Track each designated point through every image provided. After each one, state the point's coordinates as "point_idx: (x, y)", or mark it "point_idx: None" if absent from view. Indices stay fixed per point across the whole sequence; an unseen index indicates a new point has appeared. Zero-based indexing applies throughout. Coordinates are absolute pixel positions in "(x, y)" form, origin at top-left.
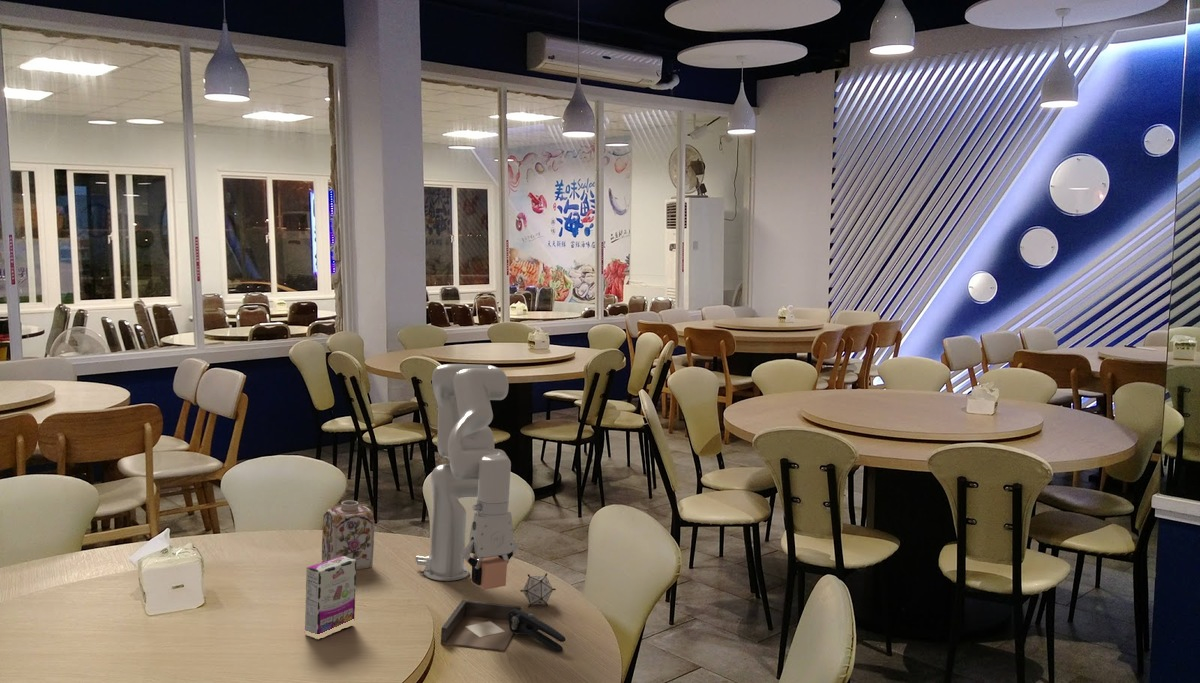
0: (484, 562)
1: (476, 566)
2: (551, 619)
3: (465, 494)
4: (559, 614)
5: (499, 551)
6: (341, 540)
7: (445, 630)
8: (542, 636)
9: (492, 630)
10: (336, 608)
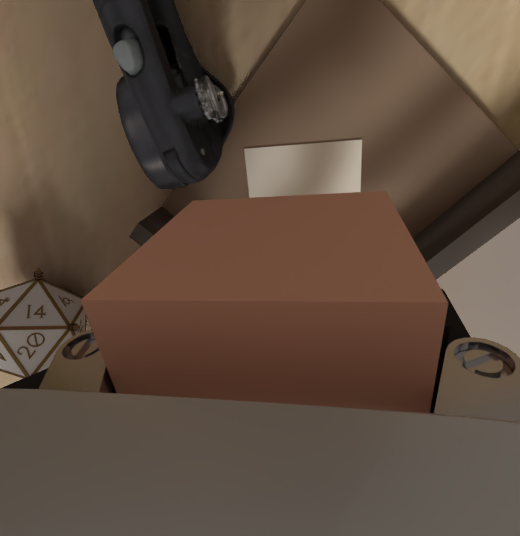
0: (386, 385)
1: (499, 368)
2: (49, 185)
3: None
4: (15, 209)
5: (118, 458)
6: None
7: None
8: None
9: (285, 175)
10: None
